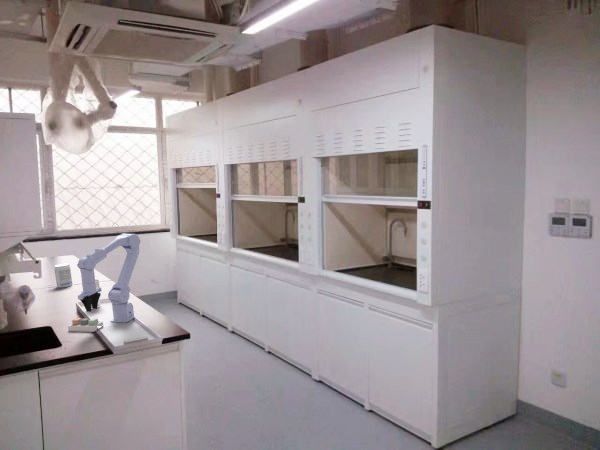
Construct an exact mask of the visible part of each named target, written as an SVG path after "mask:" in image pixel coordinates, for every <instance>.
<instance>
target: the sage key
mask: <svg viewBox="0 0 600 450" xmlns="http://www.w3.org/2000/svg"><path fill="white" fill-rule="evenodd" d="M88 322H89V325H96V324H98V322H99V319H98V318H90V320H88Z"/></svg>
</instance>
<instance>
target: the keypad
mask: <svg viewBox="0 0 600 450" xmlns="http://www.w3.org/2000/svg"><path fill="white" fill-rule="evenodd" d="M102 325H103V326H104V322H103V321H98V324H96V325H89V324H88V325H81V324H79V325H73V324H72V323H71V324H69V325H67V330H68V332H89V333H90V332H91V333H92V332H96V331H97V330H96V329H97V326H102Z"/></svg>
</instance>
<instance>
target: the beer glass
mask: <svg viewBox="0 0 600 450" xmlns="http://www.w3.org/2000/svg"><path fill="white" fill-rule="evenodd" d="M95 284H96V288H97V287H101V286H100V282H99V279H95ZM98 293H101V292H98ZM98 307H99V308H101V307H102V304H101V301H100V298H99V301H98V306H97V309H99V308H98ZM91 308H92V304H91Z"/></svg>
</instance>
